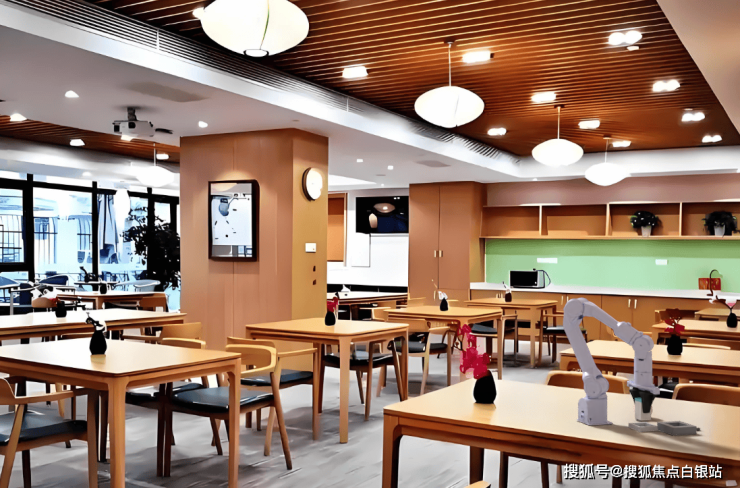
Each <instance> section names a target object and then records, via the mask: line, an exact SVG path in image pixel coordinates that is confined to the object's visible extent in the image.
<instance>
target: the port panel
mask: <svg viewBox="0 0 740 488" xmlns="http://www.w3.org/2000/svg"><path fill="white" fill-rule="evenodd" d="M656 426H658V431H659V430H660V431H659V432H663V433H665V434H668V435H670V434H671V436H673V435H675V436H685V435H686V436H687V435H688V436H689V435H697V433H698V432H697V431H701V427H697V425H694V424H690V423H687V422H685V421H681V420H674V421H673V420H671V421H659V422H658V421H657V422H656Z"/></svg>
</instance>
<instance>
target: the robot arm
mask: <svg viewBox="0 0 740 488" xmlns="http://www.w3.org/2000/svg"><path fill="white" fill-rule="evenodd" d="M585 317H589V318H590V317H591V318H595V319H596V320H598V321H599V322H601V323H603V324H604V325H605V326H607V327H609V328H610V329H612V330H613V334H614V336H616V337H617V338H619V339H620V340H621V341H623V342H624V343H626V344H627V345H628V346H631V347H632V350H633V351H634V357H633V380H627V381H626V386H627V387H629V389H628V391H629V393H630V396H631V398H632V400H633V405H634V404H635V398H638V397H641V400H642V409H643V413H650V410H651V406H652V407H653V403H654V401H655V399H656V397H657V396H658V395H660V392H661V391H660V390H661V389H660V387H656V385H655V383H654V384H653V351H652V350H653V349H654V346H655V343H654V340H653V338H652V337H651V336H650V335H648V334H644V332H643V331H639V330H638V329H636V328H635V327H633V326H632V323H631V322H629V321H627V322H626V321H618V320H617V319H615V318H614V317H613V316H612V315H610V314H609V313H607V311H605V310H604V309H602V308H600V307H599V306H598V305H596V303H594V302H592V301H589V300H588V299H587V298H586V297H585V298H584V297H578V298H571V299H569V300H568V301H566V303H565V305H564V307H563V319H562V326H563V330H564V332H565V335H566V337H567V339H568V342H569V343H570V346H571V349H572V351H573V354H574V355H575V358H576V361H577V363H578V365H579V368H580V370H581V372H582V378H581V379H582V381H583V390H584V393H585V397H581V398H579V400H578V402H577V418H576V421H577V422H580V423H582V424H584V425H588V426H600V425H613V422H612V421H609V420H608V395H607V392H608V390H609V388H610V384H609V383H610V382H609V381H608V379H606V378H607V377H605V376H604V375H603V374H602V371H601V370H600V369H599V368H598V366H597V365H596V363H595V360H594V358H593V356H592V353H591V351H590V349H589V347H588V344H587V342H586V338H585V337H584V335H583V332H582V330H581V328H580V325H581V323H582V321H583V319H584V318H585ZM630 387H631V388H630Z"/></svg>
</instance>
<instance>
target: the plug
mask: <svg viewBox="0 0 740 488" xmlns="http://www.w3.org/2000/svg"><path fill="white" fill-rule="evenodd" d="M634 419H635V420H636V419H638V420H642V421H652V414H651V410H650V413H643V409H642V400H641V397H638V398H635V412H634Z"/></svg>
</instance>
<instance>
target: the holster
mask: <svg viewBox="0 0 740 488" xmlns="http://www.w3.org/2000/svg"><path fill="white" fill-rule="evenodd" d="M627 424H628V428H629V429H632V430H634V431H637V432H640V433H642V432H644V433H645V432H656V431H659V430H658V426H657V424H653V423H650V422H648V421H637V422H628V423H627Z"/></svg>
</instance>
